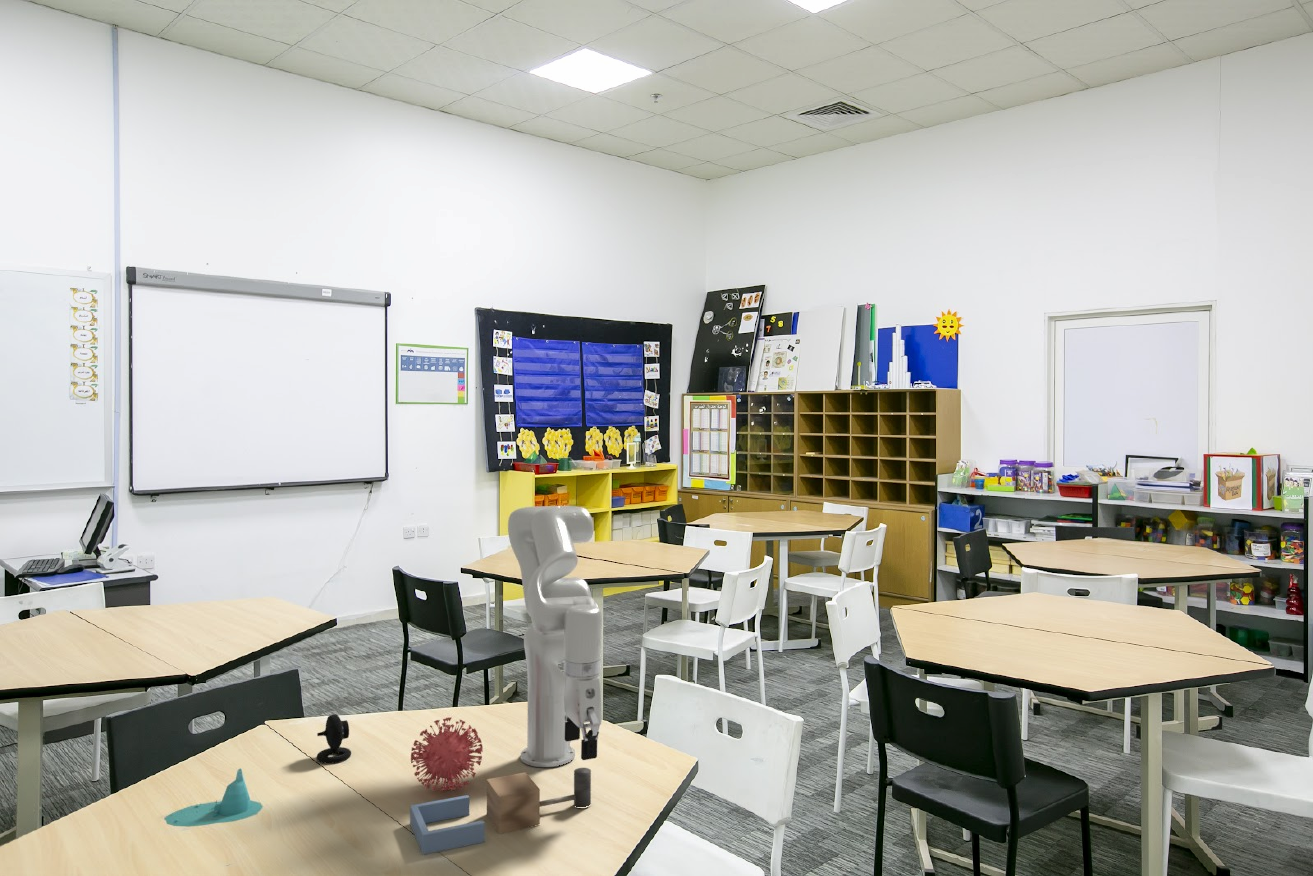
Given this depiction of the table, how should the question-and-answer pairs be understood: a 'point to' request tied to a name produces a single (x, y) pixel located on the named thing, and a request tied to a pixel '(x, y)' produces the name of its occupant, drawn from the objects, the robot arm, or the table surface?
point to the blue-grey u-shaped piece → (444, 836)
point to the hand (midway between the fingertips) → (580, 749)
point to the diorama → (219, 807)
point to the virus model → (446, 755)
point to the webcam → (334, 740)
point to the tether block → (528, 799)
